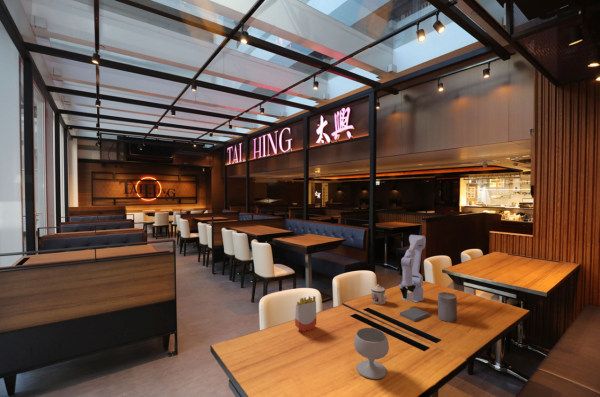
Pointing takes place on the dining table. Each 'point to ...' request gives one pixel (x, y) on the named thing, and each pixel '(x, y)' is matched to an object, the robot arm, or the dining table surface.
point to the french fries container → (305, 314)
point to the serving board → (414, 314)
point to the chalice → (371, 352)
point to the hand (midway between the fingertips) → (407, 297)
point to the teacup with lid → (378, 295)
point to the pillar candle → (447, 307)
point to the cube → (408, 296)
